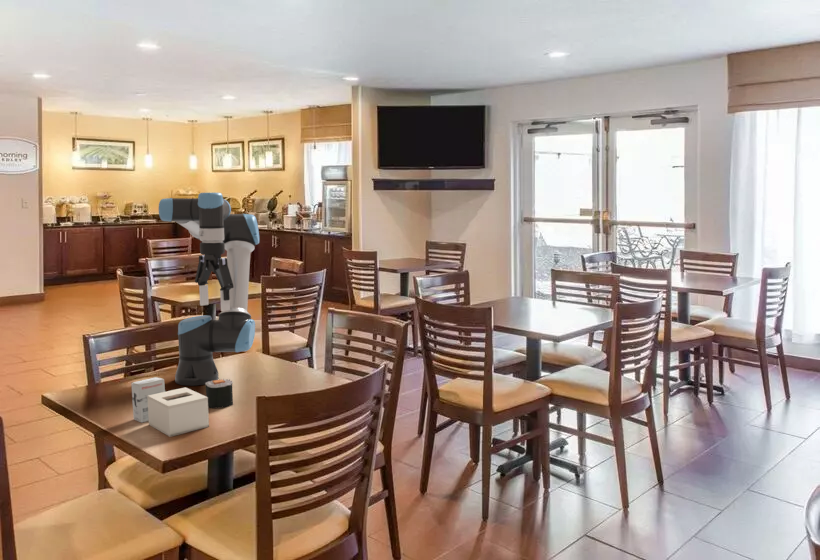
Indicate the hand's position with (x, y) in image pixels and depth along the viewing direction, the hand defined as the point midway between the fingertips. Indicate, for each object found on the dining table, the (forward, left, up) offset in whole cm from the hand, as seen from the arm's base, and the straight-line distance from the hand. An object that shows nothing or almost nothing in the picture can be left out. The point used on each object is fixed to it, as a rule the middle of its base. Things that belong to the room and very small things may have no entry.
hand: (214, 307), depth 221 cm
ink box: (-2, -22, -32) cm, 39 cm away
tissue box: (+11, -19, -32) cm, 39 cm away
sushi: (+1, 0, -32) cm, 32 cm away
